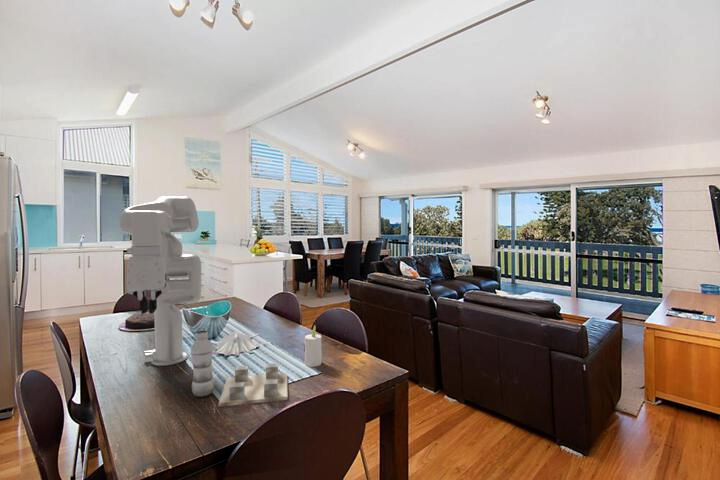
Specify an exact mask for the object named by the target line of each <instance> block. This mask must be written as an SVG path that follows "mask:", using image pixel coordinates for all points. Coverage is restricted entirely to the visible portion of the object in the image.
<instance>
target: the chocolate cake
mask: <svg viewBox="0 0 720 480" xmlns="http://www.w3.org/2000/svg"><path fill="white" fill-rule="evenodd" d="M118 329H119V330H121V331H124V332H126V331H131V332H132V331H133V332H132V333H136V332H135V331H146V332H151V331H150V330H152V331H155V320H154V312H153V313H149V310H148V311H147V312H146V313H144V314H142V312H136V313H133V314H132V315H131V316H128V317H127V318H126V319H125V320H124V322H122V323H120V324H119V325H118Z"/></svg>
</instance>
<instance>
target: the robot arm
mask: <svg viewBox="0 0 720 480" xmlns="http://www.w3.org/2000/svg"><path fill="white" fill-rule="evenodd" d="M199 224H200V222H199V217H198V211H197V207H196V205H195V202H194V200H193V199H192V198H191V197H189V196H172V195H171V196H169V195H168V196H167V195H166V196H159V197H158V198H156V199H154V200H153V201H152V202H148V203H143V204H138V205H133V206H129V207H127V208H126V209H124V211H122V212H121V215H120V218H119V227H120V229H121V231H122V232H123V233H124V234H126V235H131V247H130V248H126V252H127V253H128V254H131V256H129V257H128V262H127V265H126V267H127V269H126V277H125V279H126V281H125V282H126V283H125V284H126V285H125V287H126V290H125V293H126V294H129V295H133V296H134V297H136V298H137V300H138V301H139V311H141V313H142V314H144V313H146V312H147V311H149V313H153V312H154V320H155V330H154V345H155V349H153V350H144V352H143V356H144V358H151V359H150V364H151V365H154V366H158V367H164V366H171V365H176V364H180V363H182V362H185V360H187V358H188V354H187V352H185V351H184V349H183V348H184V346H183V343H184V341H183V314H182V311H180V309H179V308H178V307H177V306H176V305H181V304H183V305H186V304H194V303H198V302H199V301H200V299H201V296H202V260H201V258H200V257H199V255H197V254H189V253H188V254H187V253H186V254H183V244H182V242H181V241H180V240H179V239H178V237H177V236H175V235H174V234H172V233H194V232H196V231H197V230H198V228H199ZM146 291H150V299H149V300H148V298H147V296H146Z"/></svg>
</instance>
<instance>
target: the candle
mask: <svg viewBox="0 0 720 480" xmlns="http://www.w3.org/2000/svg"><path fill="white" fill-rule="evenodd" d="M316 328H317V326H316V325H315V324H314V326H313V328H312V332H311V333H310V334H306V335H305V336H304V345H303V351H304V365H305V366H306V367H310V368H313V367H319V366H321V365H322V335H321V334H317V333H316V332H317V331H316V330H317V329H316Z"/></svg>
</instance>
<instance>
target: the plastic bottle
mask: <svg viewBox="0 0 720 480" xmlns="http://www.w3.org/2000/svg"><path fill="white" fill-rule="evenodd" d="M194 335H195V336H194V339H195V341H194V342H193V344H192V346H191V347H190V355H191V360H192V371H193V373H192V382H191V393H192V395H194V396H195V397H199V398H201V397H206V396H210V395H211V394H212V393H213V391H214V390H215V382H214V381H215V380H214V377H213V362H212V361H213V353H214V346H213V344H212V342H211V341H210V340H209V337H210V336H209V331H208V330H206V329H205V330H198V331H196V332H195V334H194Z"/></svg>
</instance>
